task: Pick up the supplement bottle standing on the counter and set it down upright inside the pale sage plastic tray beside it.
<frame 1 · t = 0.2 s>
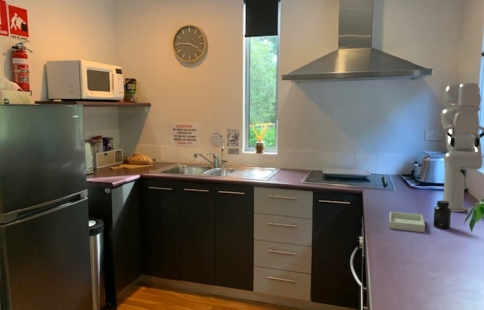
hand: (464, 146, 171), 36 cm above the worktop, tool pointing down, fingers open, 9 cm apart
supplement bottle: (441, 227, 167), on the worktop
tray: (405, 224, 171), on the worktop
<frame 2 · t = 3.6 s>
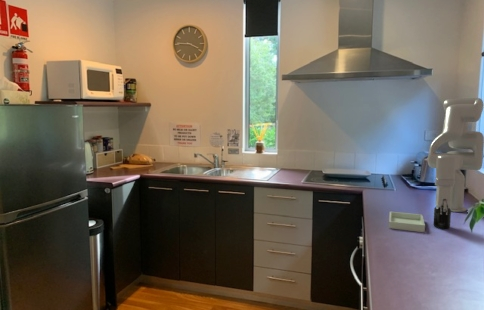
hand: (441, 220, 167), 3 cm above the worktop, tool pointing down, fingers closed on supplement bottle, 6 cm apart
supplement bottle: (441, 227, 167), on the worktop, touching gripper
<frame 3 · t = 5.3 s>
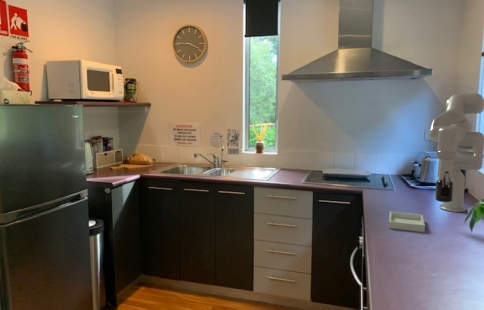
hand: (443, 193, 166), 16 cm above the worktop, tool pointing down, fingers closed on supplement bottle, 6 cm apart
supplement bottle: (443, 200, 166), point 12 cm above the worktop, touching gripper
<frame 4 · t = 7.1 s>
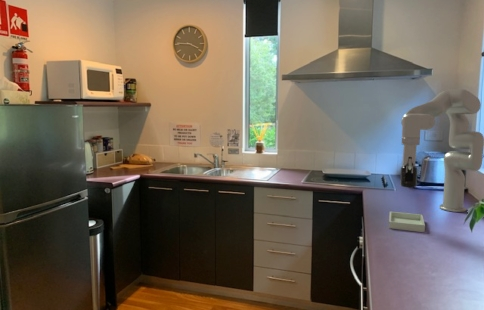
hand: (408, 179, 168), 21 cm above the worktop, tool pointing down, fingers closed on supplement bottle, 6 cm apart
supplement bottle: (408, 186, 169), point 18 cm above the worktop, touching gripper
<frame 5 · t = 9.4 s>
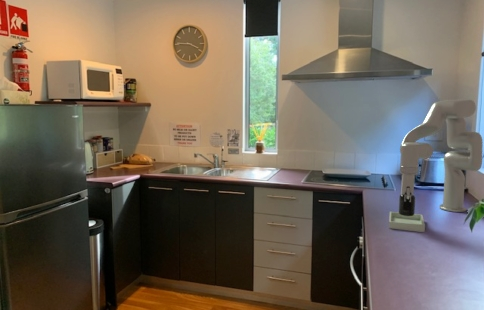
hand: (406, 207, 170), 8 cm above the worktop, tool pointing down, fingers closed on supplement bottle, 6 cm apart
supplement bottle: (406, 214, 170), point 5 cm above the worktop, touching gripper
when the fingers open (5 cm above the worktop, at t = 11.1 s): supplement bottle drops 1 cm, resting on tray.
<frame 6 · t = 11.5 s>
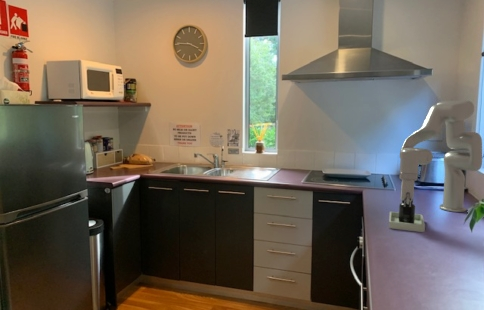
hand: (406, 212, 170), 6 cm above the worktop, tool pointing down, fingers open, 9 cm apart
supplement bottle: (406, 223, 171), resting on tray
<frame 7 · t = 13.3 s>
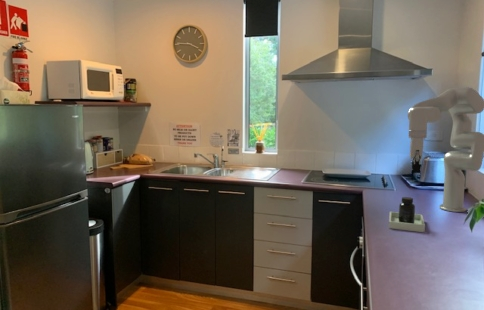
hand: (416, 170, 171), 25 cm above the worktop, tool pointing down, fingers open, 9 cm apart
nothing on the worktop moved.
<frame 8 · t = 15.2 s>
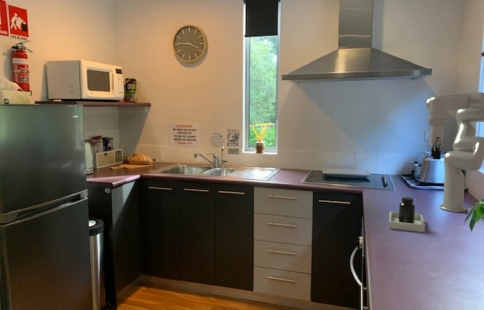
hand: (435, 158, 176), 30 cm above the worktop, tool pointing down, fingers open, 9 cm apart
nothing on the worktop moved.
at the end: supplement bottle inside the target area on the tray (0.4 cm from its centre), point 0.4 cm above the tray's base; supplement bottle tilted 0°; the gripper is holding nothing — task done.
